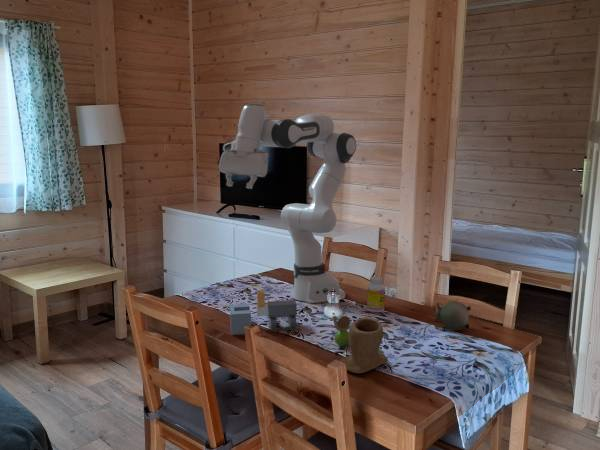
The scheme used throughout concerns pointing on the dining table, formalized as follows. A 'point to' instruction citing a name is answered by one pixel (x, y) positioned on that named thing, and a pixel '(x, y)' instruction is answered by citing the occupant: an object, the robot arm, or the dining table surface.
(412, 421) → the dining table surface
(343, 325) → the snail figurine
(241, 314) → the cradle socket
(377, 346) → the stone cup
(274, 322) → the grey arch block
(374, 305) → the supplement bottle
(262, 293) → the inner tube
